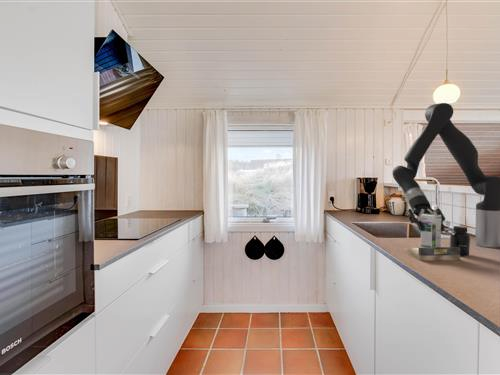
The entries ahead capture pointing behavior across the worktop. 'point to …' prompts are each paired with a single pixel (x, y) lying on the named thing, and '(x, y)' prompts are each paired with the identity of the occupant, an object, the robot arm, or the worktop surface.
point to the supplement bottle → (460, 240)
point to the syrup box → (431, 231)
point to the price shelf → (434, 253)
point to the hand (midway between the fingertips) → (433, 230)
